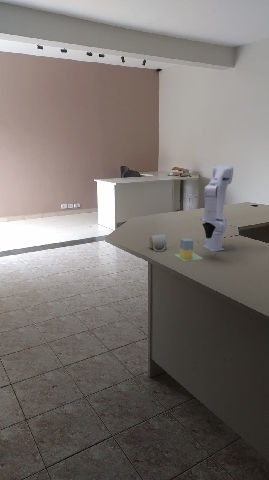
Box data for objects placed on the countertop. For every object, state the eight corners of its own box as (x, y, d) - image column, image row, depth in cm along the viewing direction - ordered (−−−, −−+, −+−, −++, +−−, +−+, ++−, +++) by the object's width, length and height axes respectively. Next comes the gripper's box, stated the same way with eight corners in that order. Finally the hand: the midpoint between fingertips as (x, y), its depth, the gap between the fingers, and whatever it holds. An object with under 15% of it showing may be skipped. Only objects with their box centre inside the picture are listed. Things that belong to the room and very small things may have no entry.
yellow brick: (179, 256, 181) (180, 247, 180) (187, 255, 183) (188, 246, 182) (183, 259, 177) (184, 250, 176) (192, 258, 179) (192, 249, 178)
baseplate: (173, 255, 185) (173, 254, 185) (192, 252, 189) (192, 252, 188) (183, 261, 175) (183, 261, 175) (203, 259, 179) (203, 258, 178)
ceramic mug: (149, 246, 198) (149, 233, 196) (163, 246, 199) (164, 232, 197) (152, 253, 188) (152, 238, 186) (167, 252, 189) (168, 238, 187)
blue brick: (180, 247, 180) (180, 238, 179) (188, 246, 182) (188, 238, 180) (184, 250, 176) (185, 241, 175) (192, 249, 178) (193, 240, 176)
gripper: (195, 208, 180) (194, 234, 184) (211, 214, 167) (209, 242, 170) (208, 207, 182) (206, 233, 186) (224, 213, 169) (222, 241, 173)
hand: (208, 238), depth 178 cm, fingers closed
